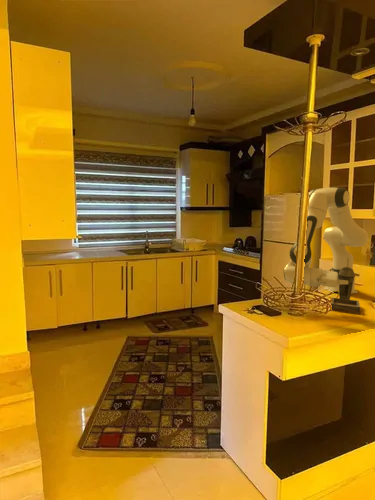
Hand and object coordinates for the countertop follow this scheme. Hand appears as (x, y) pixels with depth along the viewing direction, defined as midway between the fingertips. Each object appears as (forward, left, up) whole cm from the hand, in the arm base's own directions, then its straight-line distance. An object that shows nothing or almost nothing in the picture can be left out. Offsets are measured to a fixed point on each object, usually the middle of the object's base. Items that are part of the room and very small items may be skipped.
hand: (348, 280), depth 167 cm
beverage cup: (0, -1, -9) cm, 10 cm away
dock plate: (-11, 0, -17) cm, 20 cm away
